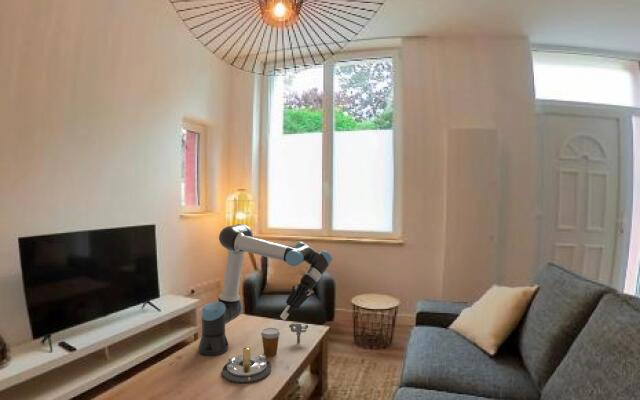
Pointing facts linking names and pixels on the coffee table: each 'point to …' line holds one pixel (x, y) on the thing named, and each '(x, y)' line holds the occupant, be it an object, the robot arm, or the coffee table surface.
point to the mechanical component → (298, 330)
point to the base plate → (246, 379)
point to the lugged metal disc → (246, 364)
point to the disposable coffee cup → (270, 341)
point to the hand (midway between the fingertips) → (282, 318)
